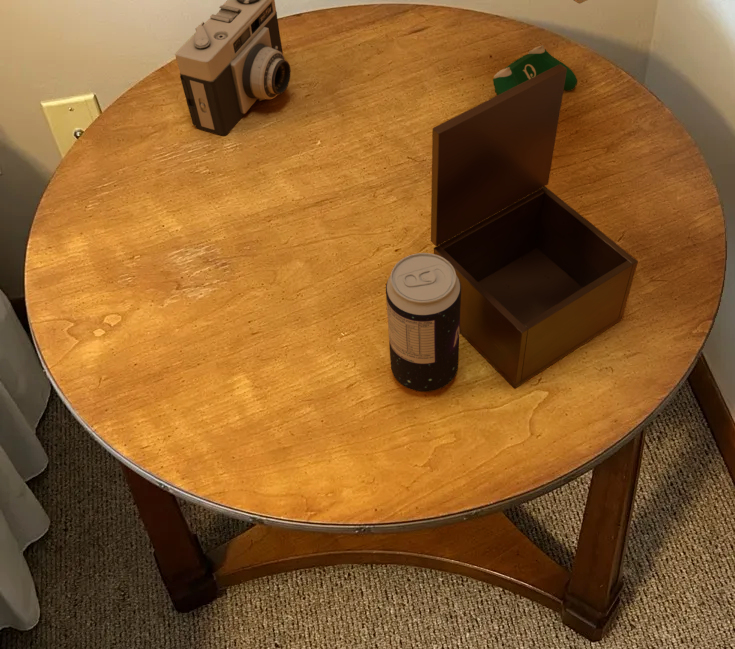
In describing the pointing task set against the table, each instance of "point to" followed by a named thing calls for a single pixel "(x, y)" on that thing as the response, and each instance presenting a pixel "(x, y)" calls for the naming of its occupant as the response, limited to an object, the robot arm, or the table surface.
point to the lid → (494, 154)
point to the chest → (536, 284)
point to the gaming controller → (530, 70)
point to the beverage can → (423, 321)
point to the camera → (232, 64)
